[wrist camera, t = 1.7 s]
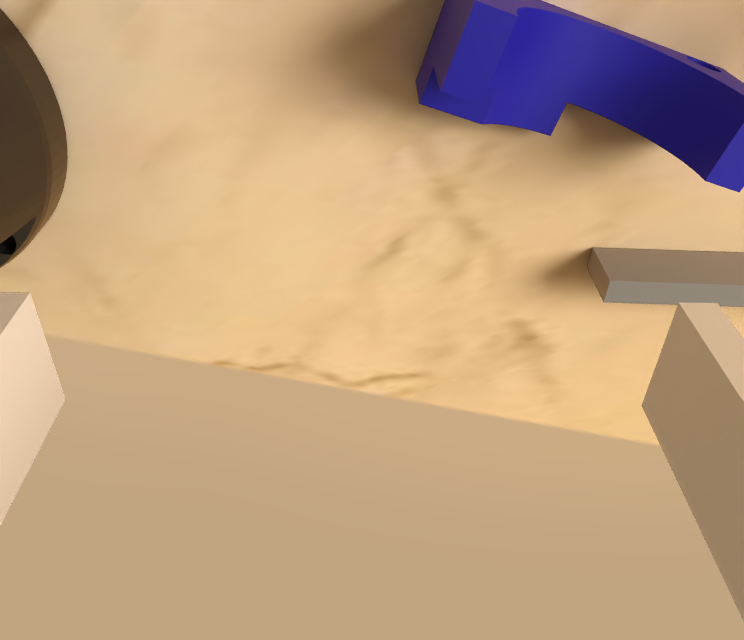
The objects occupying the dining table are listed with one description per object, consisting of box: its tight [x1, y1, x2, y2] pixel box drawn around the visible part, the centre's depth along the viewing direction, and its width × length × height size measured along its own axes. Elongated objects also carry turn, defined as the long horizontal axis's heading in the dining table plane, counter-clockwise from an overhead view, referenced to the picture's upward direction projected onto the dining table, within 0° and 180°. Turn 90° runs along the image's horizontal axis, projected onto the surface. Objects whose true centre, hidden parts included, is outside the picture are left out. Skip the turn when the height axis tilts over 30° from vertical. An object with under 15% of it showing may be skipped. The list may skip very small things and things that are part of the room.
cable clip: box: [416, 0, 744, 192], centre depth 26 cm, size 12×4×6 cm, turn 72°
